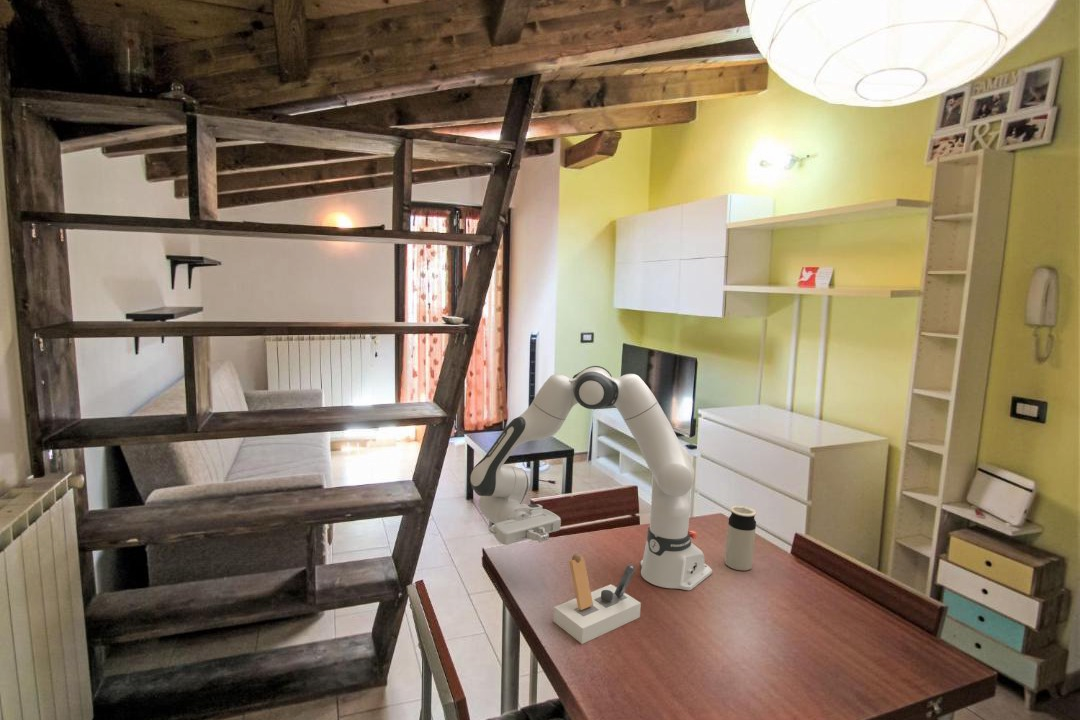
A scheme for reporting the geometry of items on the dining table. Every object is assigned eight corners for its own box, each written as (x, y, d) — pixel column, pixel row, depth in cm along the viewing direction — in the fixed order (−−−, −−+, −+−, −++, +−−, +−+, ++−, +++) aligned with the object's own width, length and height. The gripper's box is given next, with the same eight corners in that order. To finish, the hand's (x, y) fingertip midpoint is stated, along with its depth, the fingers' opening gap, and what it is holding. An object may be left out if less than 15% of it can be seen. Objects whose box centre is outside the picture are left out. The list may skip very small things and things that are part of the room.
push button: (606, 593, 152) (607, 588, 152) (614, 598, 150) (615, 593, 150) (598, 597, 150) (598, 592, 150) (606, 602, 148) (606, 597, 148)
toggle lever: (618, 589, 154) (632, 561, 149) (624, 596, 152) (638, 568, 148) (612, 592, 152) (625, 563, 148) (618, 599, 151) (631, 570, 146)
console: (610, 597, 159) (611, 583, 159) (639, 617, 151) (640, 602, 150) (553, 621, 147) (554, 606, 147) (581, 644, 139) (582, 627, 138)
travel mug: (748, 574, 176) (753, 517, 173) (721, 566, 180) (726, 511, 177) (754, 563, 182) (759, 509, 180) (728, 556, 186) (733, 503, 184)
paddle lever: (588, 604, 148) (578, 552, 150) (594, 605, 146) (584, 552, 149) (577, 609, 146) (567, 556, 148) (582, 610, 144) (572, 556, 146)
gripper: (486, 516, 162) (513, 536, 152) (543, 503, 175) (573, 519, 164) (485, 538, 163) (512, 558, 152) (542, 522, 176) (572, 540, 165)
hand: (544, 538), depth 158 cm, fingers closed
